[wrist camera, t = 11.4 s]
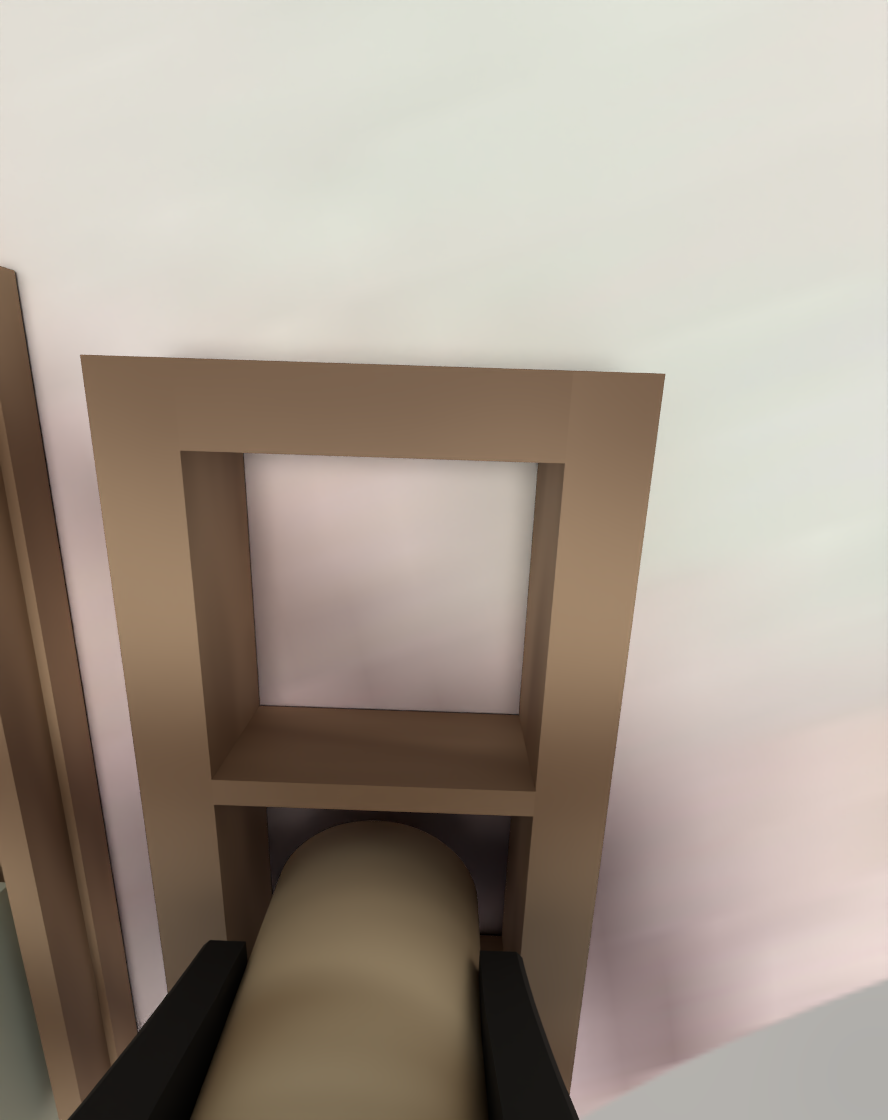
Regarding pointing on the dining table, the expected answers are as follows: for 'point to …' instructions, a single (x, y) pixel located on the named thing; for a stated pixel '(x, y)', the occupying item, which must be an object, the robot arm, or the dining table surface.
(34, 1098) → the lid
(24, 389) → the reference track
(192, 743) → the socket board
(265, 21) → the dining table surface
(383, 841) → the oak peg
